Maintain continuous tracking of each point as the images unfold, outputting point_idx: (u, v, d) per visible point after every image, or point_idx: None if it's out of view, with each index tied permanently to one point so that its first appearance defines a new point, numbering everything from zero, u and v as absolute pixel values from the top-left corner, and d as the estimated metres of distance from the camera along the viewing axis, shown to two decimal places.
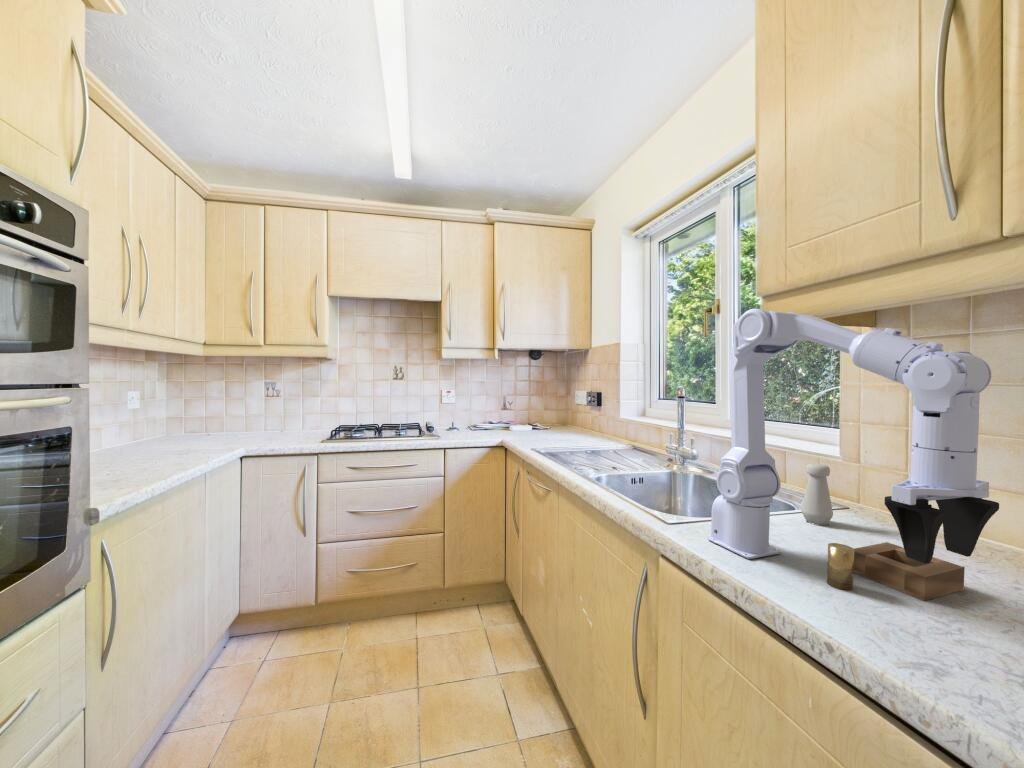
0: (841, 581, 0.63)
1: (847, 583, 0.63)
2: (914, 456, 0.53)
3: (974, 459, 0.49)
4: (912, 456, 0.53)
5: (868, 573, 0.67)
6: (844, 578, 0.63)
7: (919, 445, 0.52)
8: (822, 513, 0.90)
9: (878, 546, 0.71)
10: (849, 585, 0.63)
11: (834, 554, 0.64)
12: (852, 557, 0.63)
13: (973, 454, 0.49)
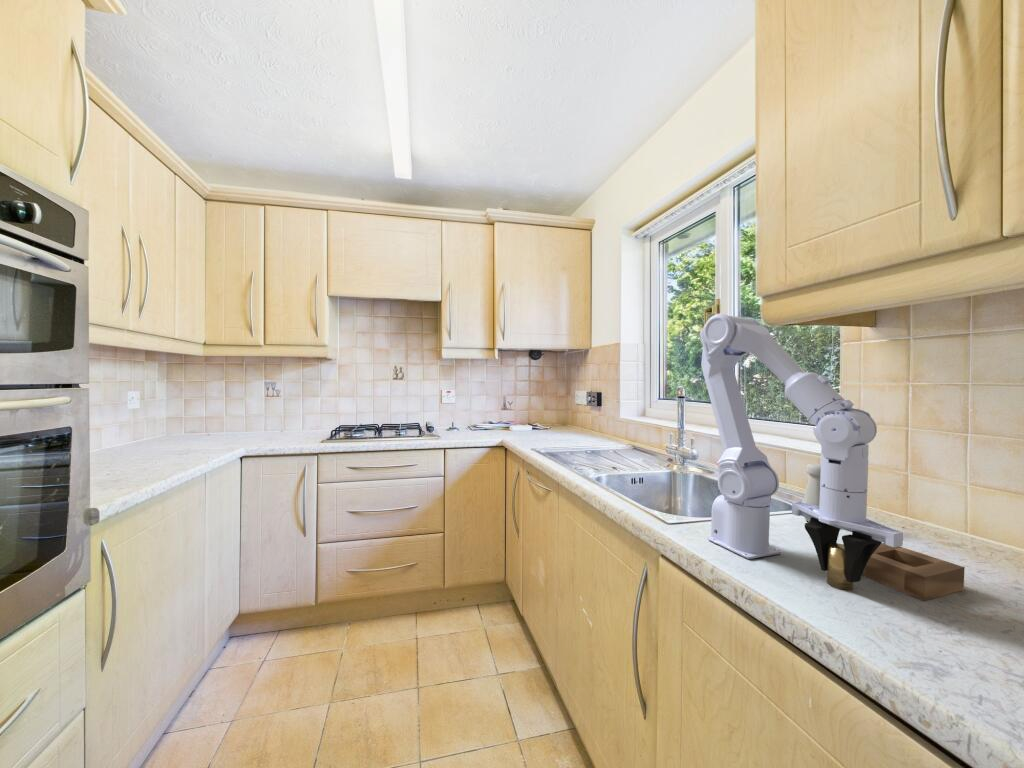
0: (841, 581, 0.63)
1: (847, 583, 0.63)
2: None
3: (831, 494, 0.63)
4: None
5: (868, 573, 0.67)
6: (844, 578, 0.63)
7: (825, 486, 0.64)
8: None
9: None
10: (849, 585, 0.63)
11: (834, 554, 0.64)
12: None
13: (829, 490, 0.63)
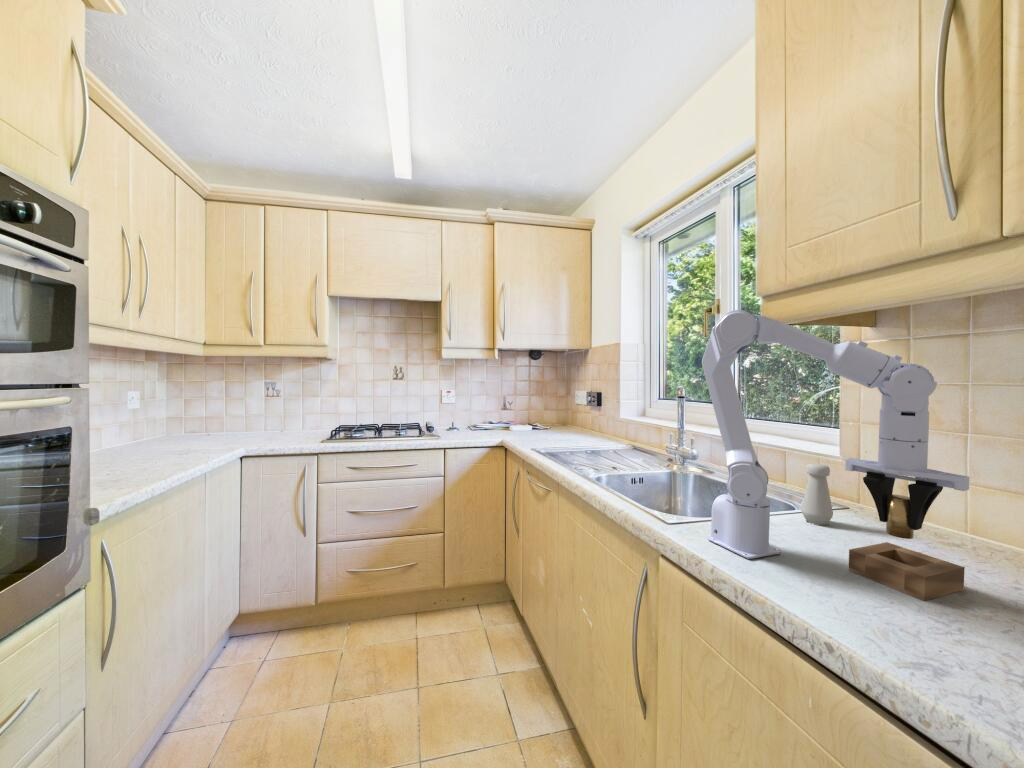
0: (904, 530, 0.65)
1: (909, 531, 0.65)
2: None
3: (895, 446, 0.65)
4: None
5: (868, 573, 0.67)
6: (907, 526, 0.65)
7: (897, 439, 0.64)
8: (822, 513, 0.90)
9: (878, 546, 0.71)
10: (911, 533, 0.65)
11: (896, 504, 0.65)
12: None
13: (893, 441, 0.65)
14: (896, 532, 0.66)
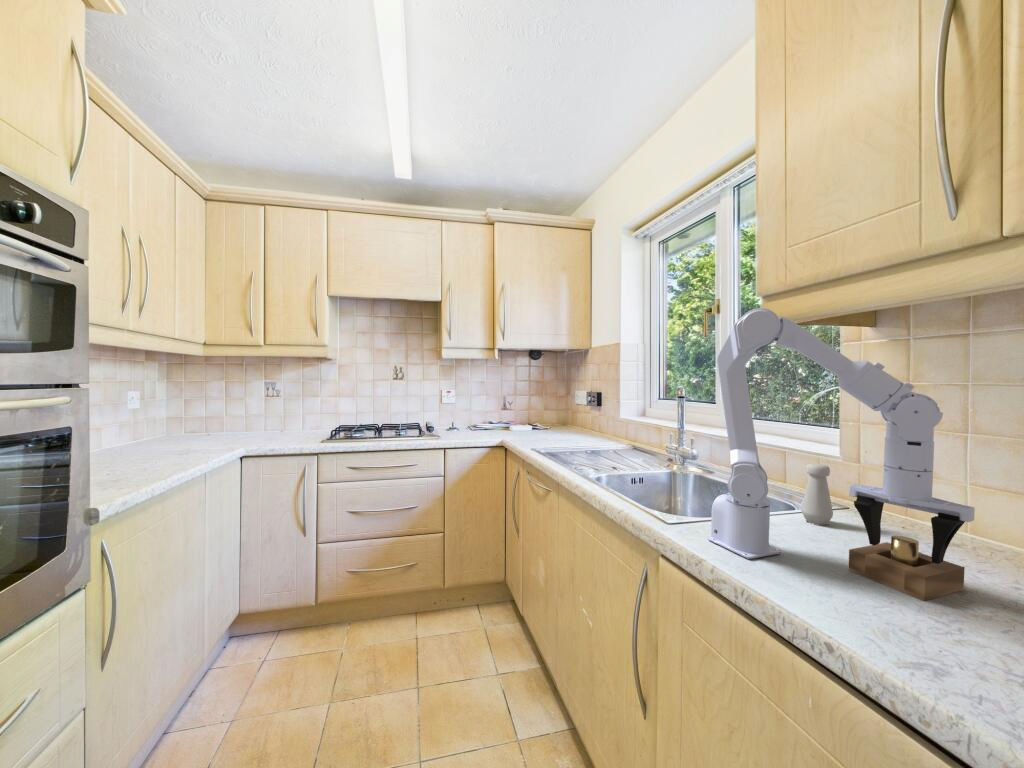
0: None
1: None
2: None
3: (901, 475, 0.65)
4: None
5: (868, 573, 0.67)
6: None
7: (903, 468, 0.65)
8: (822, 513, 0.90)
9: (878, 546, 0.71)
10: None
11: (901, 547, 0.66)
12: (918, 548, 0.65)
13: (899, 470, 0.65)
14: None
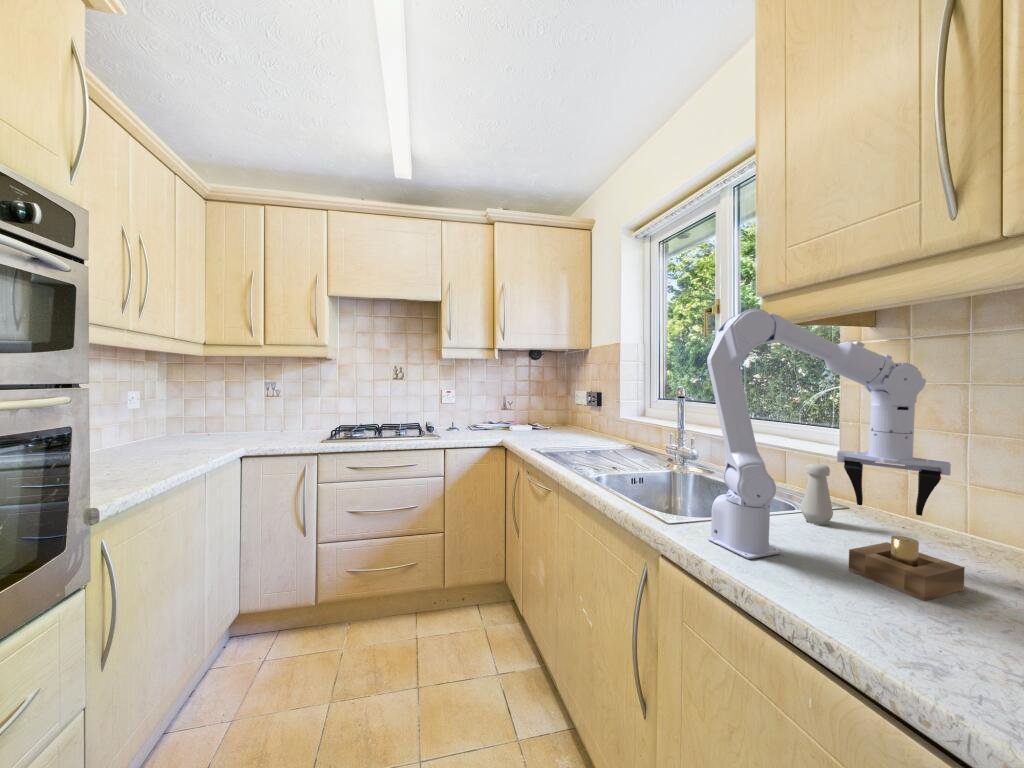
0: None
1: None
2: None
3: (892, 437, 0.71)
4: None
5: (868, 573, 0.67)
6: None
7: (894, 431, 0.70)
8: (822, 513, 0.90)
9: (878, 546, 0.71)
10: None
11: (901, 547, 0.66)
12: (918, 548, 0.65)
13: (890, 434, 0.71)
14: None
